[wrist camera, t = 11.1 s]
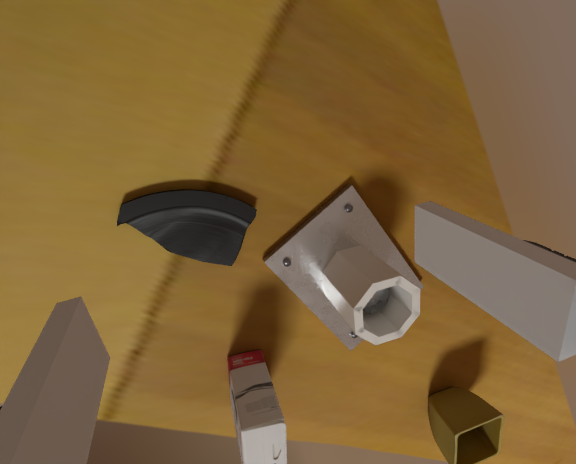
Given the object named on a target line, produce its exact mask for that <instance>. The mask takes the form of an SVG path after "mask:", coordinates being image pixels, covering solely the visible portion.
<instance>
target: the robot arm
mask: <svg viewBox="0 0 576 464" xmlns="http://www.w3.org/2000/svg"><path fill="white" fill-rule="evenodd" d="M415 262H416V263H417V264H418V265H420V266H421V267H423V268H424V269H426V270H427V271H428V272H430V273H431V274H433V275H434V276H436V277H437V278H439V279H440V280H441V281H443V282H444V283H446V284H447V285H449V286H450V287H451V288H453V289H454V290H456V291H457V292H459V293H460V294H461V295H463V296H464V297H466V298H467V299H469V300H470V301H472V302H473V303H474V304H476V305H477V306H479V307H480V308H482V309H483V310H484V311H486V312H487V313H489V314H490V315H492V316H493V317H494V318H496V319H497V320H499V321H500V322H502V323H503V324H505V325H506V326H507V327H509V328H510V329H512V330H513V331H515V332H516V333H517V334H519V335H520V336H522V337H523V338H525V339H526V340H527V341H529V342H530V343H532V344H533V345H535V346H536V347H538V348H539V349H540V350H542V351H543V352H545V353H546V354H548V355H549V356H550V357H552V358H553V359H555V360H556V361H558V362H559V361H562V360H564V359H566V358H569V357H571V356H573V355H576V259H574V258H571V257H568V256H564V254H561V253H559V252H557V251H552V250H551V249H549V248H547V247H545V246H542V245H540V244H537V243H534V242H530V241H525V240H521V239H519V238H517V237H514V236H512V235H510V234H507V233H505V232H502V231H500V230H498V229H495V228H493V227H491V226H488V225H486V224H483V223H481V222H479V221H476V220H474V219H472V218H469V217H467V216H465V215H462V214H460V213H457V212H455V211H453V210H450V209H448V208H446V207H443V206H441V205H439V204H436V203H434V202H431V201H429V202H425V203H421V204H418V205H415ZM109 360H110V357H109V354H108V352H107V350H106V348H105V346H104V344H103V342H102V340H101V338H100V335H99V333H98V331H97V329H96V327H95V325H94V323H93V321H92V318H91V316H90V314H89V312H88V310H87V308H86V306H85V304H84V302H83V299H82V297H78V298H74V299H71V300H67V301H63V302H60V303H57V304H56V306H55V307H54V309H53V311H52V313H51V315H50V317H49V319H48V321H47V323H46V325H45V326H44V328H43V330H42V332H41V334H40V336H39V338H38V340H37V342H36V343H35V345H34V347H33V349H32V351H31V353H30V355H29V357H28V359H27V361H26V362H25V364H24V366H23V368H22V370H21V372H20V374H19V376H18V378H17V379H16V381H15V383H14V385H13V387H12V389H11V391H10V393H9V395H8V397H7V398H6V400H5V402H4V404H3V406H1V407H0V464H87V459H88V455H89V450H90V445H91V441H92V436H93V432H94V428H95V423H96V419H97V414H98V410H99V405H100V401H101V396H102V392H103V387H104V382H105V378H106V373H107V369H108V364H109Z"/></svg>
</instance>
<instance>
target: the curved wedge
mask: <svg viewBox="0 0 576 464" xmlns="http://www.w3.org/2000/svg"><path fill="white" fill-rule="evenodd" d="M256 211H257V210H256V209H255V208H253V207H252V206H251V205H249V204H247V203H244V202H242V201H240V200H237V199H235V198H232V197H229V196H226V195H222V194H218V193H213V192H208V191H202V190H170V191H163V192H157V193H152V194H148V195H144V196H141V197H138V198H135V199H133V200H130V201H128V202H125V203H123V204H122V205H121V208H120V213H119V215H118V220H117V226H118V225H120V224H123V223H127V224H129V225H131V226H133V227H134V228H136V229H137V230H139V231H140V232H142V233H143V234H144V235H146V236H148V237H151V238H152V239H154V240H155V241H156V242H157V243H159V244H160V245H161V246H163V247H164V248H165V249H166V250H167V251H169V252H172V253H175V254H178V255H181V256H185V257H189V258H192V259H195V260H199V261H203V262H208V263H214V264H222V265H228V266H232V264H233V263H234V261H235V260H236V258H237V255H238V253H239V251H240V249H241V246H242V242H243V239H244V236H245V232H246V229H247V228H248V226H249V225H250V224H251V223H252V221H253V220H254V218H255V216H256Z"/></svg>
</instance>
